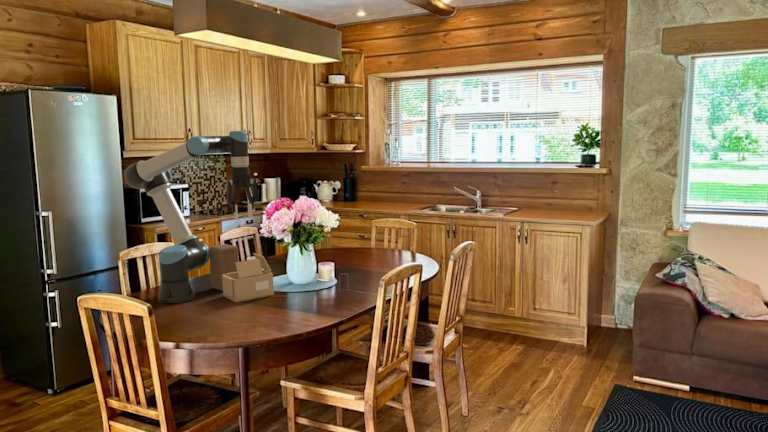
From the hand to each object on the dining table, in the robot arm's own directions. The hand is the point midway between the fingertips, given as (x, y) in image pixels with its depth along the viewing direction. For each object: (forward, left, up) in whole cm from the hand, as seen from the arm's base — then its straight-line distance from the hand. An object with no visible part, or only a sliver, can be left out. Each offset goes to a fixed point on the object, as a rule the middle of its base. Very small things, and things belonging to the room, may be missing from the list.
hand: (243, 218), depth 258 cm
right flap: (+7, -1, -21) cm, 22 cm away
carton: (0, -1, -35) cm, 35 cm away
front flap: (-1, -6, -21) cm, 22 cm away
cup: (+16, +28, -35) cm, 48 cm away
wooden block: (-3, +19, -35) cm, 40 cm away
